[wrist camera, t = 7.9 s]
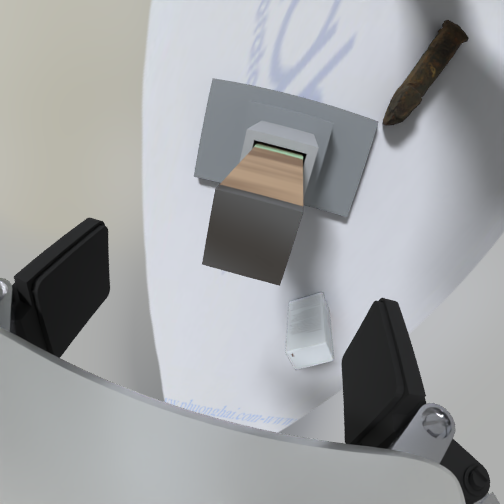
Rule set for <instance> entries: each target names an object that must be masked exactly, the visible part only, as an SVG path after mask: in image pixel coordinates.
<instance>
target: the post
mask: <svg viewBox="0 0 504 504" xmlns="http://www.w3.org/2000/svg"><path fill="white" fill-rule="evenodd" d="M302 215H303V153H302V152H298V151H295V150H291V149H287V148H284V147H280V146H276V145H272V144H268V143H264V142H260V141H259V142H258V143H257V144H256V145H255V146H254V148H253V149H252V150H251V151H250V152H249V153H248V154H247V155H246V156H245V157H244V158H243V159H242V161H241V162H240V163H239V164H238V165H237V166H236V167H235V168H234V169H233V170H232V171H231V172H230V174H229V175H228V176H227V177H226V178H225V179H224V180H223V181H222V182H221V184H220V185H219V186H218V187H217V188H216V189H215V194H214V199H213V205H212V210H211V216H210V221H209V227H208V233H207V238H206V244H205V250H204V256H203V262H202V264H203V265H206V266H210V267H213V268H217V269H221V270H224V271H228V272H232V273H235V274H239V275H242V276H246V277H250V278H253V279H257V280H261V281H265V282H268V283H272V284H276V285H280V283H281V280H282V277H283V274H284V271H285V268H286V265H287V262H288V259H289V256H290V253H291V250H292V247H293V243H294V240H295V237H296V234H297V231H298V228H299V224H300V221H301V218H302Z"/></svg>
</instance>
